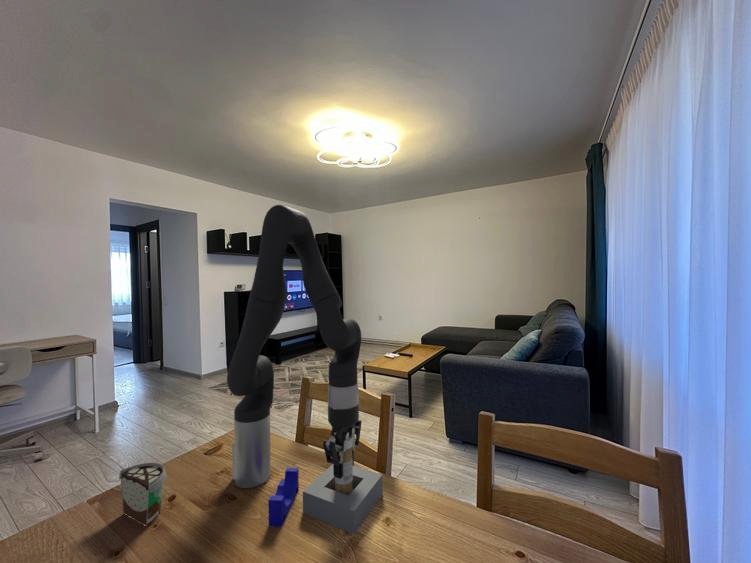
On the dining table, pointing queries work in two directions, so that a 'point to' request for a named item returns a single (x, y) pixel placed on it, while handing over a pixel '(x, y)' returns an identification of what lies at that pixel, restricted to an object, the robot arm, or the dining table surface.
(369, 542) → the dining table surface
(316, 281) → the robot arm
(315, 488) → the well block
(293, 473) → the cable clip
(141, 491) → the food container
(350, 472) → the sprinkles bottle
